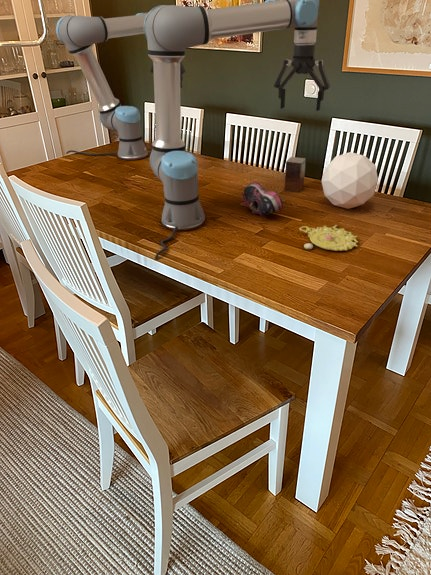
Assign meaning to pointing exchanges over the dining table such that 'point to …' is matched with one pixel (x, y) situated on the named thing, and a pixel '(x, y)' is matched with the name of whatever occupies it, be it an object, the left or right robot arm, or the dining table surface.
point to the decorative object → (330, 238)
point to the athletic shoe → (261, 200)
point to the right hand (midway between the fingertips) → (300, 109)
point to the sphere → (349, 180)
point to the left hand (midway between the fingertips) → (169, 87)
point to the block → (295, 174)
